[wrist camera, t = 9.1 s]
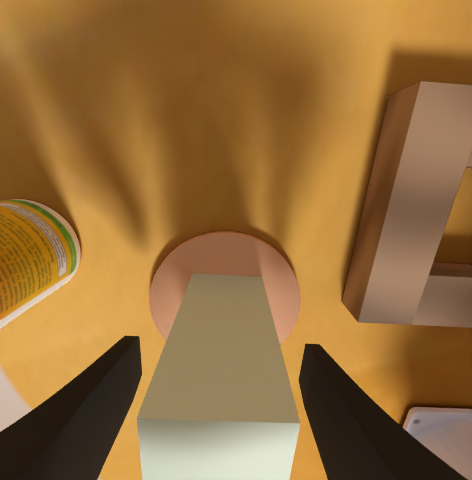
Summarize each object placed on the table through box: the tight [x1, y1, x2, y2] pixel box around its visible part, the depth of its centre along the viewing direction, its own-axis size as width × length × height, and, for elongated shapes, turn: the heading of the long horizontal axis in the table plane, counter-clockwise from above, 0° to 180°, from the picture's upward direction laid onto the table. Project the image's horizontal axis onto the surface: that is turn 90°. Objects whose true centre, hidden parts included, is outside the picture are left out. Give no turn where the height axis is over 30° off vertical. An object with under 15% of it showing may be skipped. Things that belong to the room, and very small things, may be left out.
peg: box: [137, 273, 300, 480], centre depth 10 cm, size 4×4×8 cm
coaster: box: [149, 231, 300, 344], centre depth 14 cm, size 9×9×1 cm
